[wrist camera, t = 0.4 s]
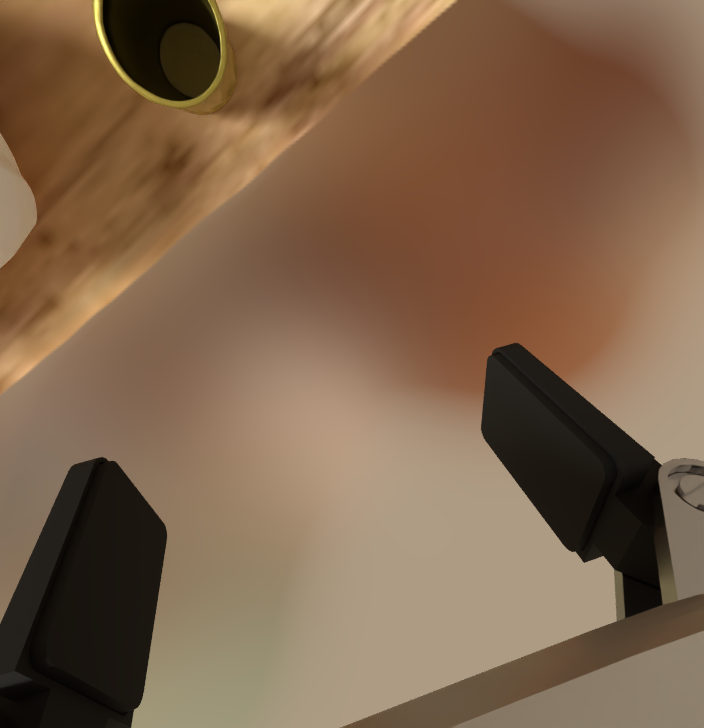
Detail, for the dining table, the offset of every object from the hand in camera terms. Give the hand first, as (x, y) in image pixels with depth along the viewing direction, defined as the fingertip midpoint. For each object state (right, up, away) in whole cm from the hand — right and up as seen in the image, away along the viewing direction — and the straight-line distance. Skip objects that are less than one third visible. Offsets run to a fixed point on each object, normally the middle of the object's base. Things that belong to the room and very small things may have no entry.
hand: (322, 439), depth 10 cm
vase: (-11, +24, +18) cm, 32 cm away
